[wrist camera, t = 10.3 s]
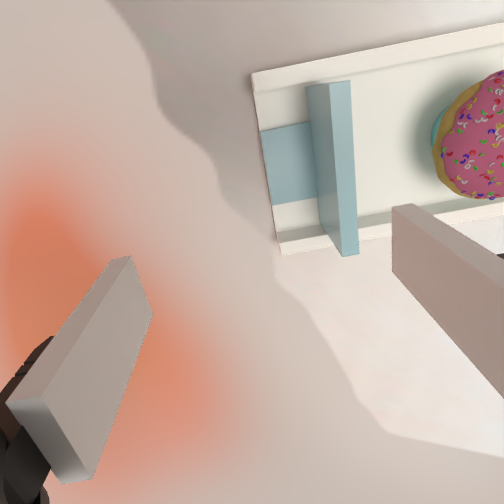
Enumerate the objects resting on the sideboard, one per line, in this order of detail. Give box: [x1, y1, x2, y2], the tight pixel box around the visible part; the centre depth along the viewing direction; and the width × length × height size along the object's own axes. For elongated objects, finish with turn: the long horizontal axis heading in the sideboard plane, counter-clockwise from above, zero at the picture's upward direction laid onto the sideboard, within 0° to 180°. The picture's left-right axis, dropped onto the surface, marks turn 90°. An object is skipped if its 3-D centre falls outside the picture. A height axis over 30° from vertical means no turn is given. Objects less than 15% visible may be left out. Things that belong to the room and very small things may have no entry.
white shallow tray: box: [250, 22, 504, 256], centre depth 27 cm, size 14×25×3 cm, turn 100°
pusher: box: [260, 80, 359, 257], centre depth 25 cm, size 11×5×7 cm, turn 10°
